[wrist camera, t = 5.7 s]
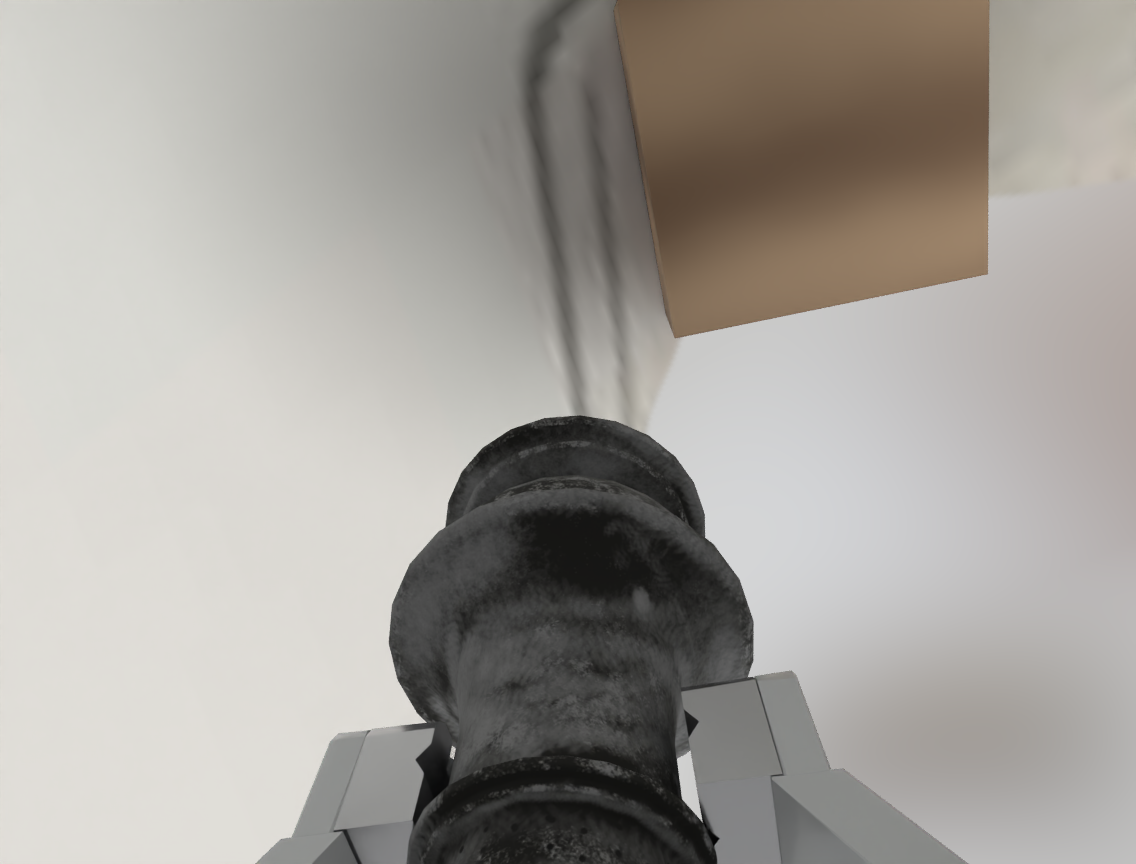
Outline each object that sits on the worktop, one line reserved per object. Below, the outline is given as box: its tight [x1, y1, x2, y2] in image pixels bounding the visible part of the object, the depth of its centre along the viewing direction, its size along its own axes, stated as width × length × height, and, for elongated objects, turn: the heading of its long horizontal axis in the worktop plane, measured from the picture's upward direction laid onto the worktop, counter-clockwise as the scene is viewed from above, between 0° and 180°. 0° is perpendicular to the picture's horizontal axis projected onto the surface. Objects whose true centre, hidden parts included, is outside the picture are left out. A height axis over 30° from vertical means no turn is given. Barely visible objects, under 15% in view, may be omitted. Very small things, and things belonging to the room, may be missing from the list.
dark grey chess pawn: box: [389, 416, 753, 864], centre depth 10 cm, size 6×6×12 cm
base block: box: [614, 0, 989, 338], centre depth 24 cm, size 10×10×3 cm
